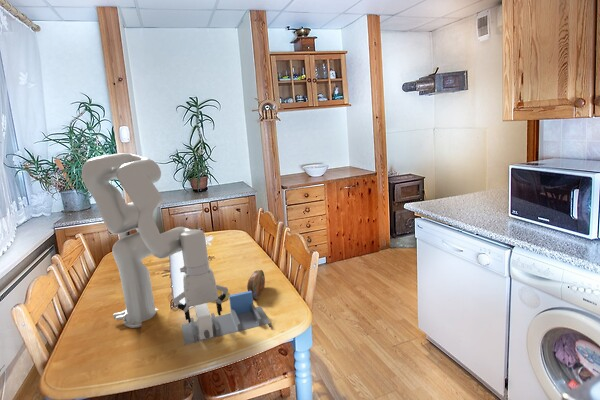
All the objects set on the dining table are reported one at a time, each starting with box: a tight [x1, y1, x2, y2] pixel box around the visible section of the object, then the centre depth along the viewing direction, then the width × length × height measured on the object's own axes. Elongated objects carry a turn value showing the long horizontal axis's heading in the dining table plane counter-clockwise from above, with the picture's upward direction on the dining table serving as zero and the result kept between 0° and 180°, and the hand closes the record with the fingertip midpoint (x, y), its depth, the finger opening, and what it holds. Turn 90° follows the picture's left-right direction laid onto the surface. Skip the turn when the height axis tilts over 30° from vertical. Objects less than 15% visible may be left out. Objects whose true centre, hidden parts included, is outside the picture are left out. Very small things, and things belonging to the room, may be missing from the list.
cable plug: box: [194, 303, 213, 341], centre depth 127 cm, size 4×14×7 cm, turn 20°
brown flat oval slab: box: [246, 269, 266, 300], centre depth 156 cm, size 15×3×8 cm, turn 168°
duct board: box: [181, 290, 272, 346], centre depth 132 cm, size 28×13×8 cm, turn 110°
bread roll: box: [210, 290, 231, 304], centre depth 152 cm, size 8×9×4 cm
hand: (204, 317), depth 128 cm, fingers open, 9 cm apart
